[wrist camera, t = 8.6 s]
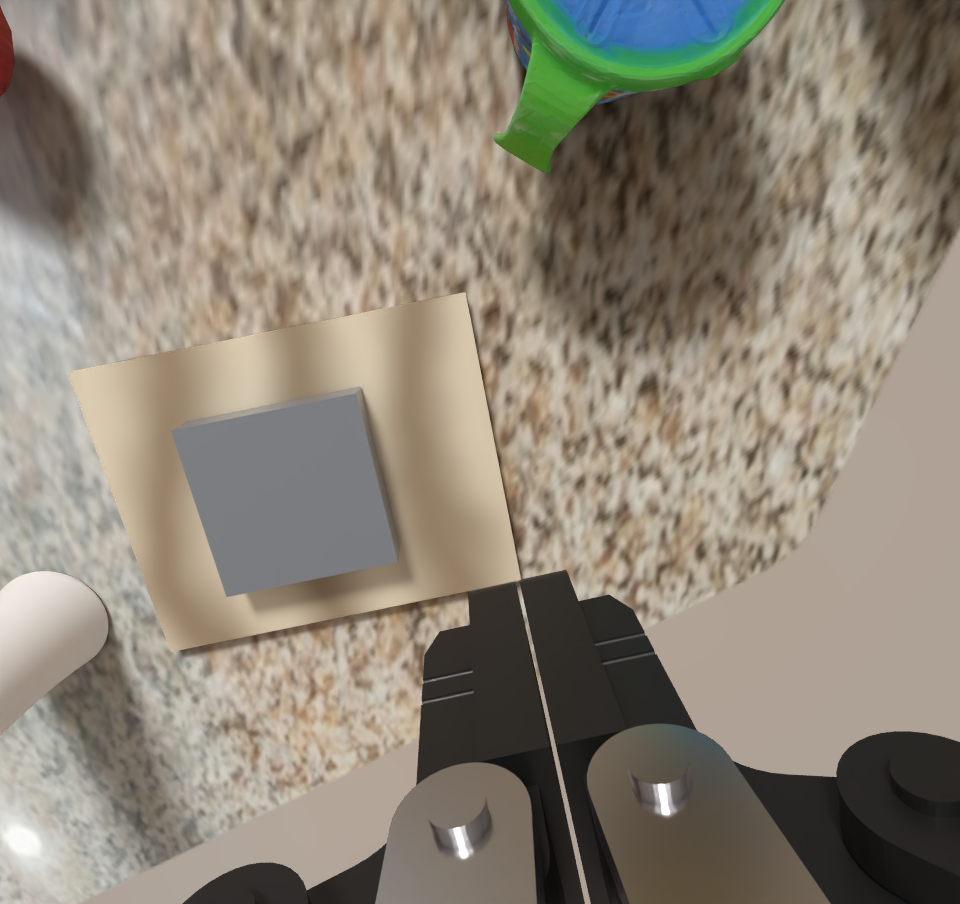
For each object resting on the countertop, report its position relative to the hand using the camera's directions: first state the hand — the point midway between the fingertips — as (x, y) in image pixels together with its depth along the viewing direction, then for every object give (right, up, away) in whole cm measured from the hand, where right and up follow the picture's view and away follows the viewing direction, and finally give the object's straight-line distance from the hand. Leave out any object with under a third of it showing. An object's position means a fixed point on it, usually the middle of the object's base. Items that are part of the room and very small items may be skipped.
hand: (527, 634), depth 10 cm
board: (-10, +1, +26) cm, 27 cm away
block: (-6, +2, +24) cm, 25 cm away
